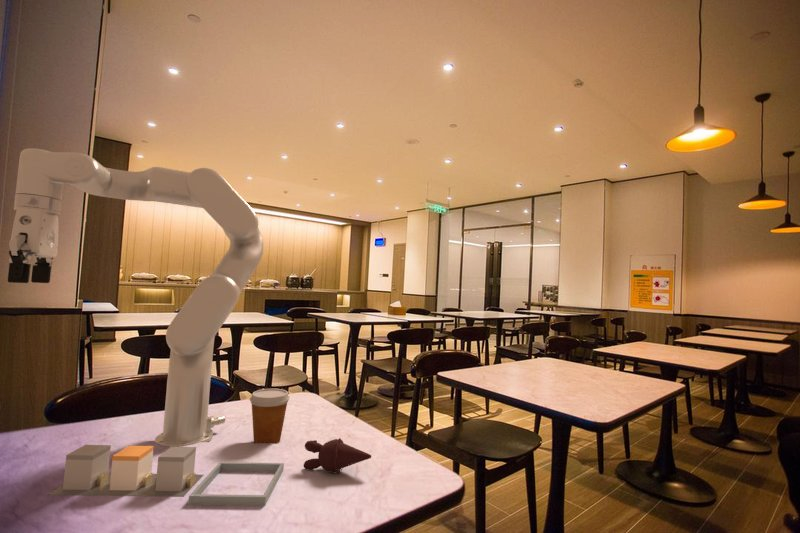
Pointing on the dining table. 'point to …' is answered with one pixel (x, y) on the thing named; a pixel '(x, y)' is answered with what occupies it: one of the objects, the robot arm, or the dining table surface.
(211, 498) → the tray
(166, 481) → the block
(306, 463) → the icecream
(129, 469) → the block
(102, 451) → the fuse
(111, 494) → the fuse panel
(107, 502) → the dining table surface
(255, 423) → the disposable coffee cup
